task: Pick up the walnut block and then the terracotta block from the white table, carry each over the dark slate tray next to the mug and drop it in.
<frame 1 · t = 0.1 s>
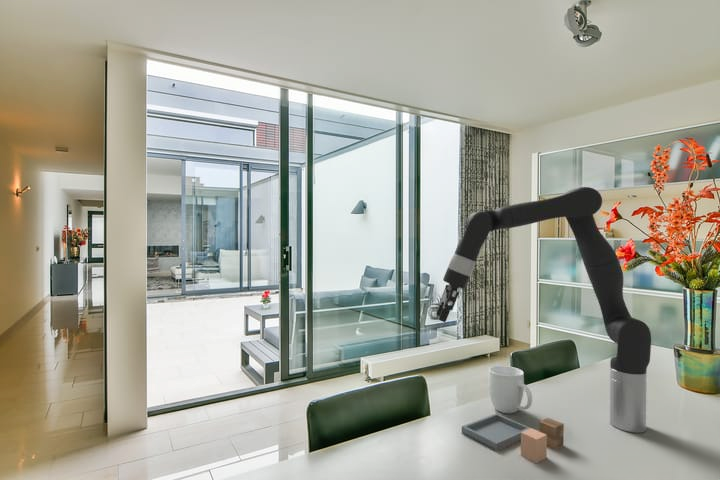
hand: (440, 318, 128), 31 cm above the table, tool tilted 20°, fingers open, 8 cm apart
block a: (551, 444, 112), on the table
mug: (508, 411, 133), on the table
tray: (496, 434, 117), on the table
block b: (533, 456, 105), on the table
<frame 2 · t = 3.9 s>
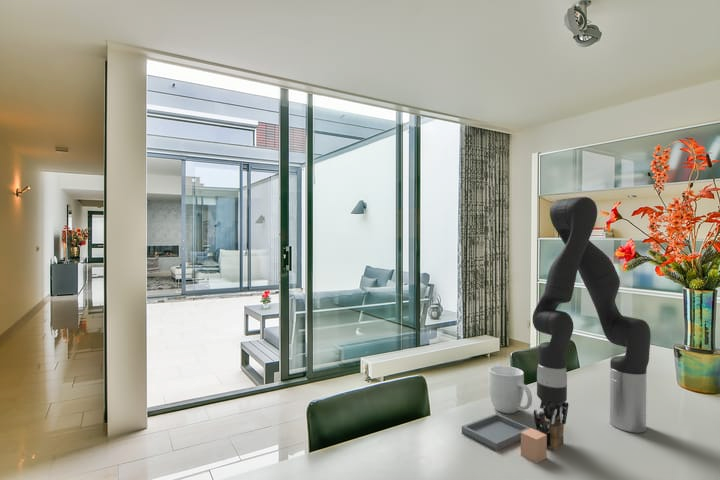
hand: (551, 442, 112), 0 cm above the table, tool pointing down, fingers closed on block a, 4 cm apart
block a: (551, 444, 112), on the table, touching gripper
everything else where it was.
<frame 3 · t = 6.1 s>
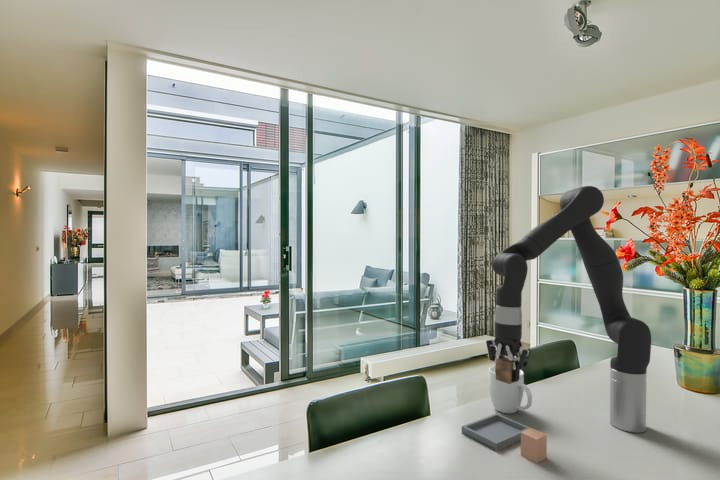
hand: (506, 378, 118), 16 cm above the table, tool pointing down, fingers closed on block a, 4 cm apart
block a: (507, 380, 118), point 15 cm above the table, touching gripper
everything else where it was.
when the fingers open (4 cm above the table, at t = 8.4 s): block a drops 3 cm, resting on tray.
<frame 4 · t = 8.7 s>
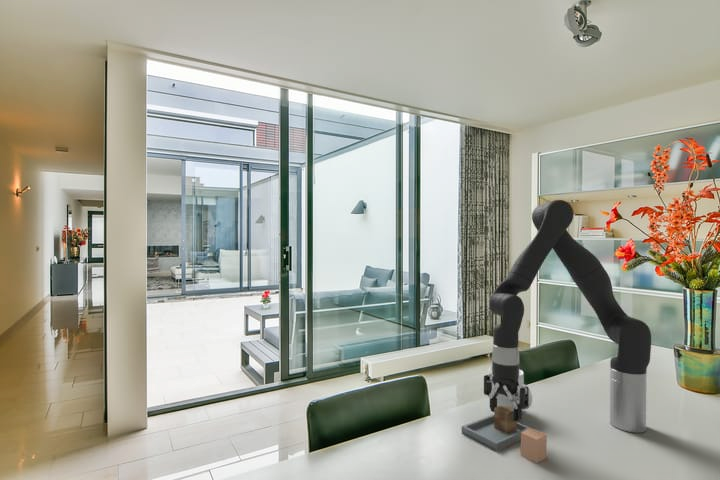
hand: (505, 415, 119), 4 cm above the table, tool pointing down, fingers open, 7 cm apart
block a: (505, 429, 119), resting on tray
everything else where it was.
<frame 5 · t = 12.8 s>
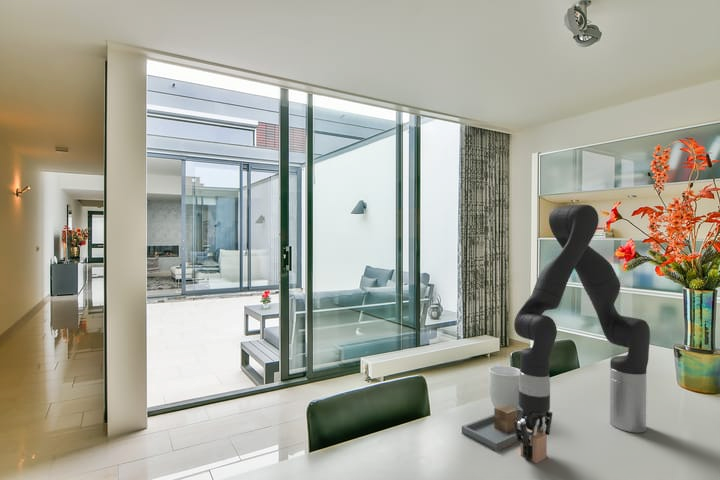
hand: (533, 454, 105), 0 cm above the table, tool pointing down, fingers closed on block b, 4 cm apart
block b: (533, 456, 105), on the table, touching gripper
everything else where it was.
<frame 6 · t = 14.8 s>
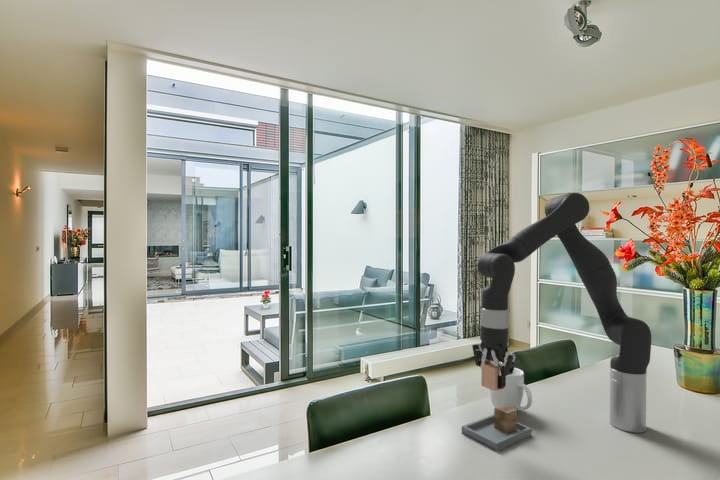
hand: (493, 385, 113), 16 cm above the table, tool pointing down, fingers closed on block b, 4 cm apart
block b: (493, 386, 113), point 15 cm above the table, touching gripper
everything else where it was.
when the fingers open (4 cm above the table, at t = 17.2 s): block b drops 3 cm, resting on tray.
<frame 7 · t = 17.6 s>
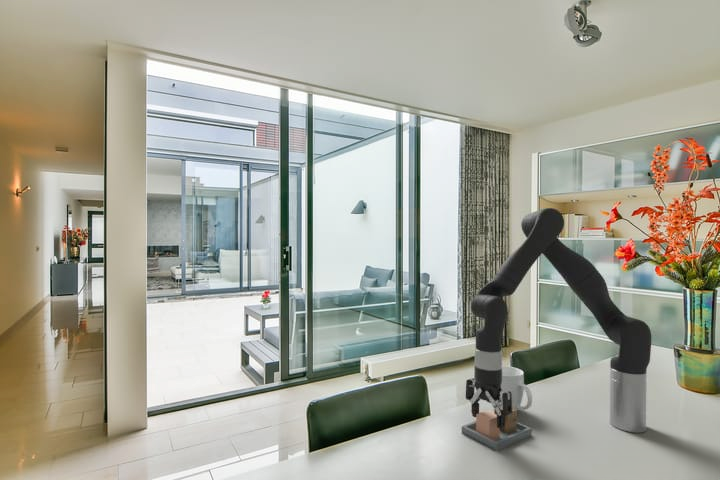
hand: (487, 421, 115), 5 cm above the table, tool pointing down, fingers open, 8 cm apart
block b: (487, 436, 115), resting on tray
everything else where it was.
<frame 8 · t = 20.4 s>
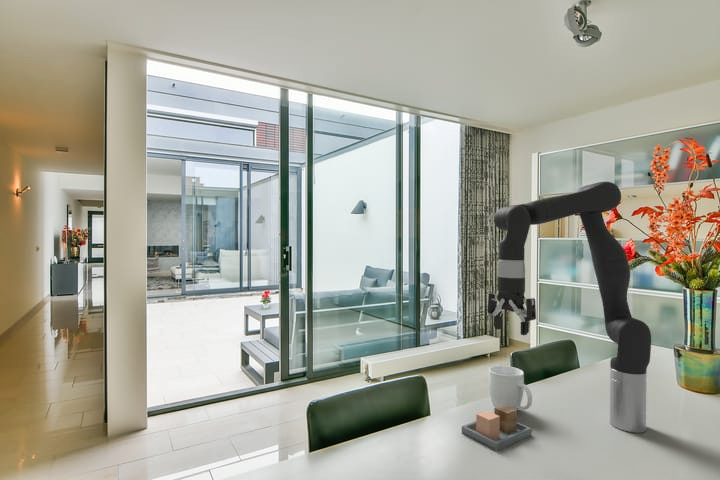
hand: (510, 331, 116), 30 cm above the table, tool pointing down, fingers open, 8 cm apart
nothing on the table moved.
at the end: block a inside the target area on the tray (4.0 cm from its centre), point 0.5 cm above the tray's base; block b inside the target area on the tray (4.0 cm from its centre), point 0.5 cm above the tray's base; mug moved 0.2 cm from its start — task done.
